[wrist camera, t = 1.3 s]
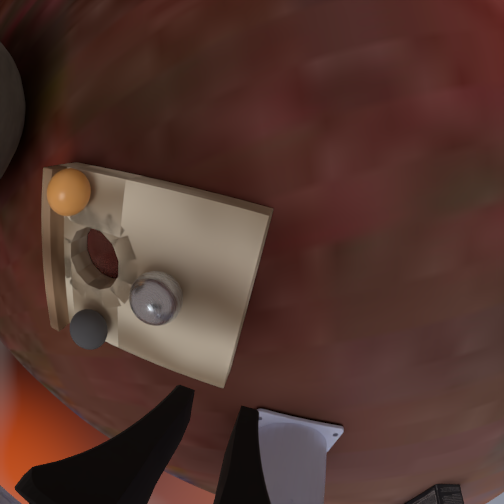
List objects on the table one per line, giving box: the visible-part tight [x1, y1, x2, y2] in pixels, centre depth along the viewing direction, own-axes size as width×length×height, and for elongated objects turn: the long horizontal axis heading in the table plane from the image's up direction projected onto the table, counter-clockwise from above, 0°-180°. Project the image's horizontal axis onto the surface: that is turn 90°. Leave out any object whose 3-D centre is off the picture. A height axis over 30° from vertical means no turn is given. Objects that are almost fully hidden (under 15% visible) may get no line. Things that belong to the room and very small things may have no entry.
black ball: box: [70, 309, 108, 349], centre depth 19 cm, size 3×3×3 cm
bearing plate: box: [41, 162, 273, 388], centre depth 19 cm, size 13×15×4 cm
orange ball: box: [47, 168, 91, 216], centre depth 16 cm, size 3×3×3 cm
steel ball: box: [129, 271, 183, 326], centre depth 17 cm, size 3×3×3 cm
